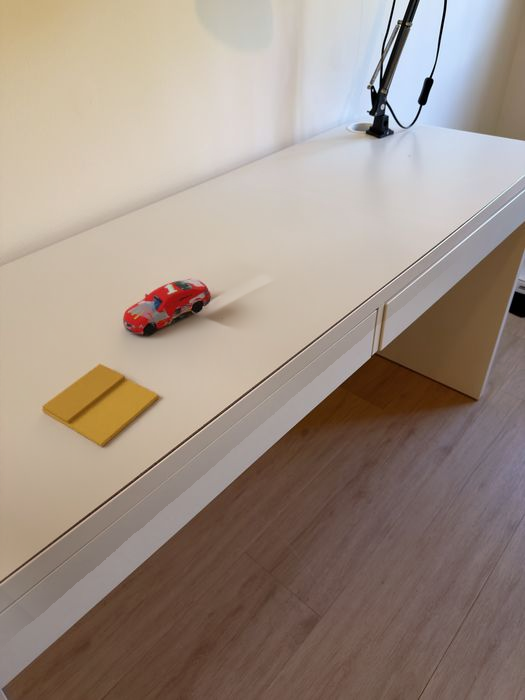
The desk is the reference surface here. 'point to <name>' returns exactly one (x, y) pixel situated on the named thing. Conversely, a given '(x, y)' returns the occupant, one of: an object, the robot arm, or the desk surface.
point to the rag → (100, 404)
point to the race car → (166, 306)
